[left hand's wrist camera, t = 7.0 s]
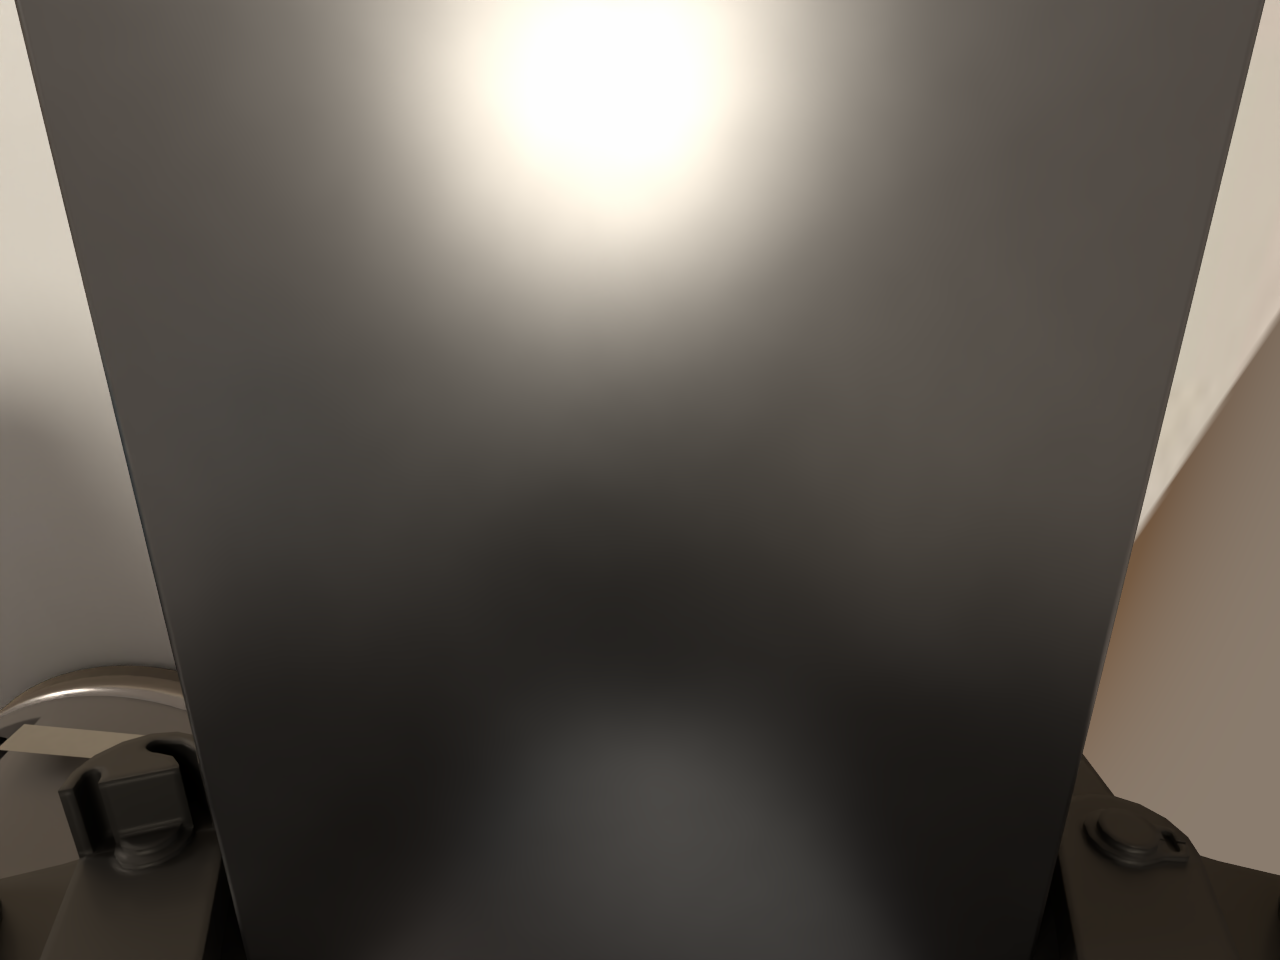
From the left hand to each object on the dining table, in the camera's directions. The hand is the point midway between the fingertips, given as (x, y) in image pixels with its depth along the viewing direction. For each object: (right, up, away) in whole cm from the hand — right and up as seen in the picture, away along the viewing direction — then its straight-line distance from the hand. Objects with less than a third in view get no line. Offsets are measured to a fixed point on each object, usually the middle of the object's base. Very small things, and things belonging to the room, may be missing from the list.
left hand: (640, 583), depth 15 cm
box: (0, +9, -3) cm, 10 cm away
